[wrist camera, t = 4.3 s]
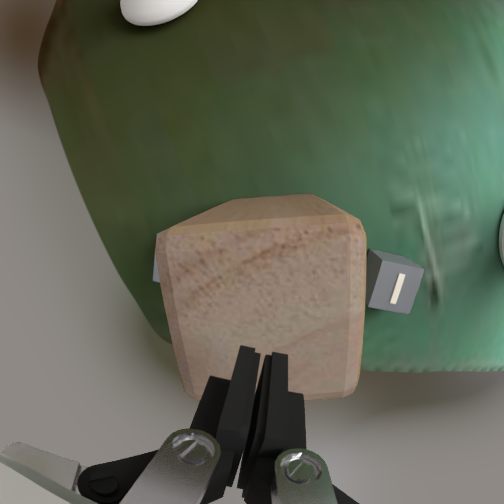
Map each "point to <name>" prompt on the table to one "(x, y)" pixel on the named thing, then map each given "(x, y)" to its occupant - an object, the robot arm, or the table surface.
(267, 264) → the wooden block
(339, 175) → the table surface
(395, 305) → the charcoal block marked 1
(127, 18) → the flower in vase
